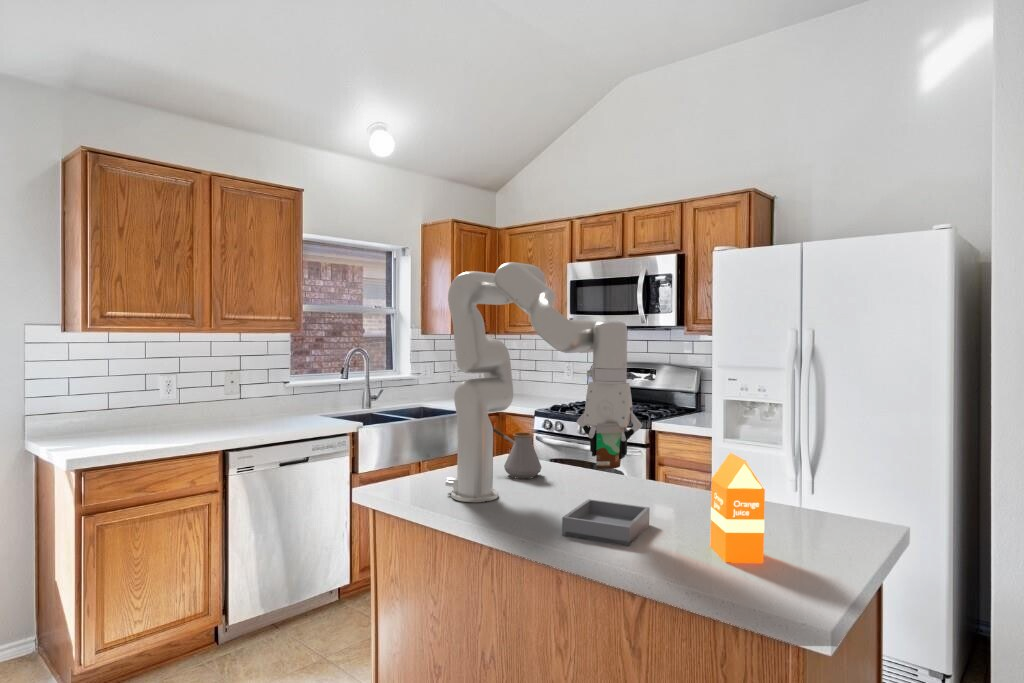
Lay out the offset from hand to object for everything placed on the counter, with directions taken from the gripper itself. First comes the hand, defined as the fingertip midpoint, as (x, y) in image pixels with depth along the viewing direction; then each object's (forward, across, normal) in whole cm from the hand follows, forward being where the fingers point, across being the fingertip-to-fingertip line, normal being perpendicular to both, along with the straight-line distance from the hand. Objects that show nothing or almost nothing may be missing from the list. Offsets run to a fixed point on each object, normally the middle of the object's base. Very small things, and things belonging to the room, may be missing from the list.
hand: (608, 455), depth 143 cm
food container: (+2, +1, 0) cm, 2 cm away
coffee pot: (+17, -44, +39) cm, 61 cm away
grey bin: (+17, 0, 0) cm, 17 cm away
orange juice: (+17, +28, -3) cm, 33 cm away
